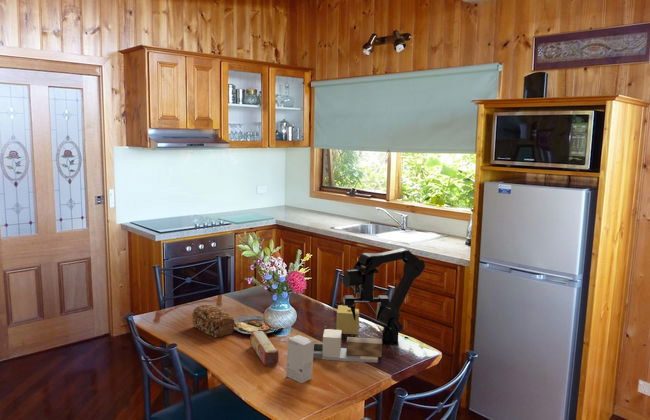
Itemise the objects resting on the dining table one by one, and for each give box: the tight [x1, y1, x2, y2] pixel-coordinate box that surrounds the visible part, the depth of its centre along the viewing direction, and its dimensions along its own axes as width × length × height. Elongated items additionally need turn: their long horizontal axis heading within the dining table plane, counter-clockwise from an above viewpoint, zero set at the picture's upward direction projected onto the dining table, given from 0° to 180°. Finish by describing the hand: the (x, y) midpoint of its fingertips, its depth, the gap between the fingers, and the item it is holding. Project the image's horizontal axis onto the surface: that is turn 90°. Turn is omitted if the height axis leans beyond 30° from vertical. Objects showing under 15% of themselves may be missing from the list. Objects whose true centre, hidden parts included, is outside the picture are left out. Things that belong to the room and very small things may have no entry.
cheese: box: [335, 304, 360, 335], centre depth 245 cm, size 10×11×10 cm
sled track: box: [313, 328, 379, 364], centre depth 217 cm, size 27×10×9 cm, turn 86°
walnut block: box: [346, 336, 383, 358], centre depth 217 cm, size 14×5×6 cm, turn 86°
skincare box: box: [285, 334, 315, 384], centre depth 196 cm, size 8×6×15 cm
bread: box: [191, 304, 235, 338], centre depth 240 cm, size 19×11×10 cm, turn 45°
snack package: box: [249, 331, 280, 367], centre depth 215 cm, size 21×7×7 cm, turn 22°
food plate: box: [234, 314, 275, 336], centre depth 245 cm, size 25×23×4 cm
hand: (365, 320), depth 225 cm, fingers open, 9 cm apart
